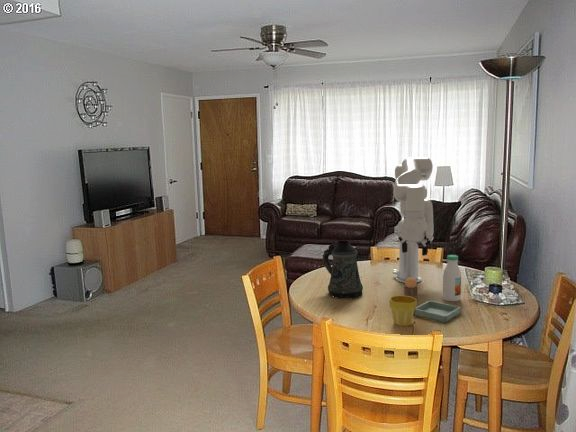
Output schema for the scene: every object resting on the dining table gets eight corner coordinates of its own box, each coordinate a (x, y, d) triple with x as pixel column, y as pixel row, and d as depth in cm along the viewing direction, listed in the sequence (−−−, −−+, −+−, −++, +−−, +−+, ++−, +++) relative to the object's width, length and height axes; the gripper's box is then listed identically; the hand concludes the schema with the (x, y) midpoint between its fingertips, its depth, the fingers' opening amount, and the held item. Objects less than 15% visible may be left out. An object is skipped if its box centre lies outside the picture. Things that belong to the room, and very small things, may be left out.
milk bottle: (449, 302, 211) (450, 258, 208) (439, 297, 218) (440, 254, 215) (464, 300, 213) (465, 256, 210) (453, 295, 220) (455, 253, 217)
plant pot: (412, 317, 194) (412, 294, 193) (419, 327, 184) (420, 302, 183) (386, 318, 194) (386, 295, 193) (393, 328, 184) (393, 303, 182)
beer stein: (362, 299, 218) (361, 246, 214) (319, 298, 222) (318, 245, 218) (363, 289, 234) (363, 238, 230) (324, 287, 238) (323, 238, 234)
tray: (413, 315, 197) (413, 308, 197) (429, 306, 207) (429, 300, 207) (445, 323, 187) (445, 316, 187) (460, 313, 197) (461, 307, 197)
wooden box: (404, 302, 213) (404, 287, 212) (408, 300, 216) (408, 284, 215) (412, 304, 210) (412, 288, 209) (417, 301, 213) (417, 286, 212)
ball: (402, 288, 212) (402, 277, 211) (408, 286, 216) (408, 275, 215) (413, 291, 209) (413, 279, 208) (418, 288, 212) (418, 277, 212)
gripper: (392, 214, 211) (392, 252, 213) (429, 217, 199) (428, 257, 201) (402, 212, 216) (401, 249, 218) (437, 215, 204) (437, 254, 206)
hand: (414, 253), depth 209 cm, fingers open, 9 cm apart
